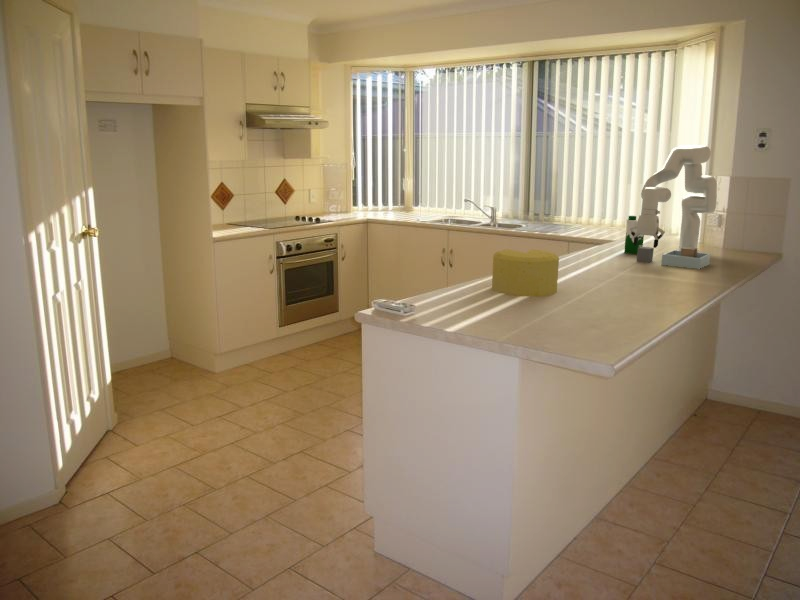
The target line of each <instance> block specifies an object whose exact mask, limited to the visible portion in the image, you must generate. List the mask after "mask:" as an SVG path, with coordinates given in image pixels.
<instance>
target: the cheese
mask: <svg viewBox="0 0 800 600" xmlns="http://www.w3.org/2000/svg"><path fill="white" fill-rule="evenodd" d="M492 257H493V258H492V259H493V260H492V274H491V275H492V278H491V281H492V282H491V289H492V290H493V291H495V292H497V293H499V294H504V295H508V296H517V297H548V296H552V295H555V294H557V292H558V280H559V279H558V278H559V277H558V276H559V266H560V265H559V264H560V263H559V262H560V257H559V256H558V255H557V254H556V253H554V252H552V251H548V250H541V249H540V250H539V249H532V248H531V249H530V250H529V251H527V252H522V251H517V250H514V249H502V250H500V251H496V252H495V253H493V256H492Z"/></svg>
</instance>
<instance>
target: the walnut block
mask: <svg viewBox="0 0 800 600" xmlns="http://www.w3.org/2000/svg"><path fill="white" fill-rule="evenodd" d="M697 250H699V249H698V247H697V248H690V247H684V248H681V256H684V257H694V258H696V257H697Z"/></svg>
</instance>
